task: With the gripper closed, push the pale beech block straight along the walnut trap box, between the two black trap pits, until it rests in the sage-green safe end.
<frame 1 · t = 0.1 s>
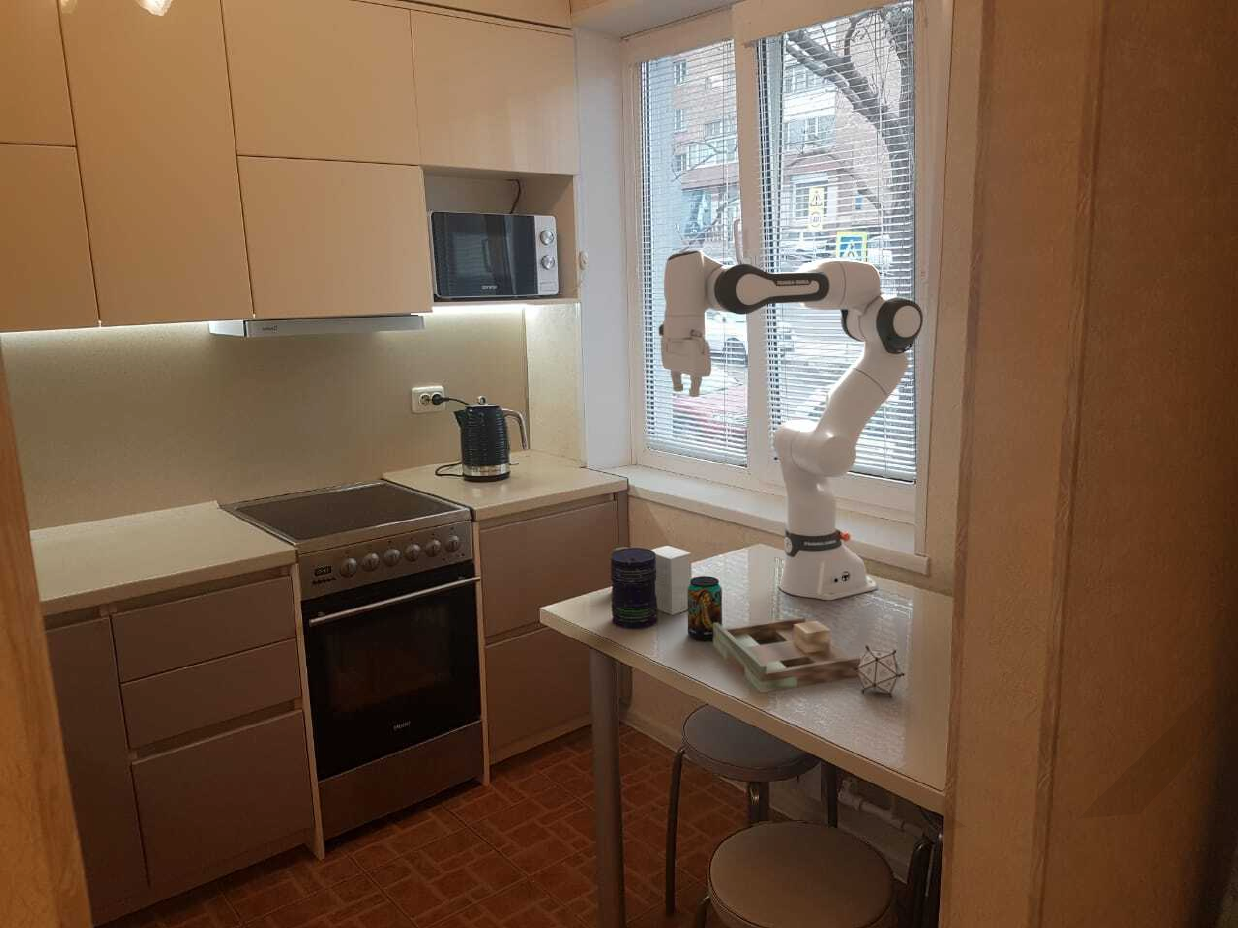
hand: (686, 393, 198), 48 cm above the table, fingers open, 8 cm apart
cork: (624, 594, 216), on the table
trap box: (783, 660, 177), on the table
small box: (670, 607, 206), on the table
storage jar: (634, 621, 199), on the table
beech block: (811, 646, 178), point 2 cm above the table, touching trap box
game die: (878, 693, 163), on the table
beverage can: (704, 636, 190), on the table
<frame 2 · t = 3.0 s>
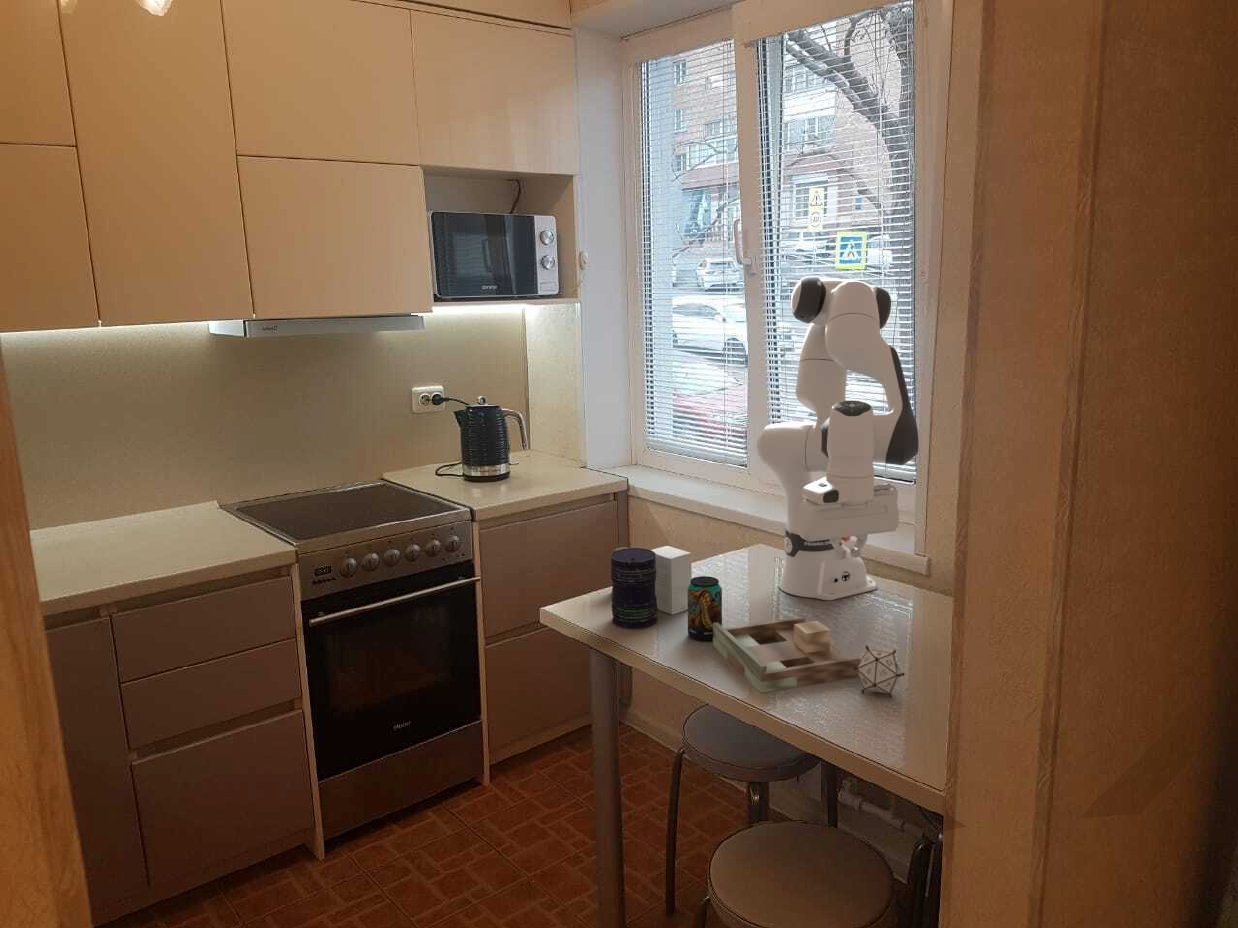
hand: (847, 557, 177), 19 cm above the table, fingers closed
nothing on the table moved.
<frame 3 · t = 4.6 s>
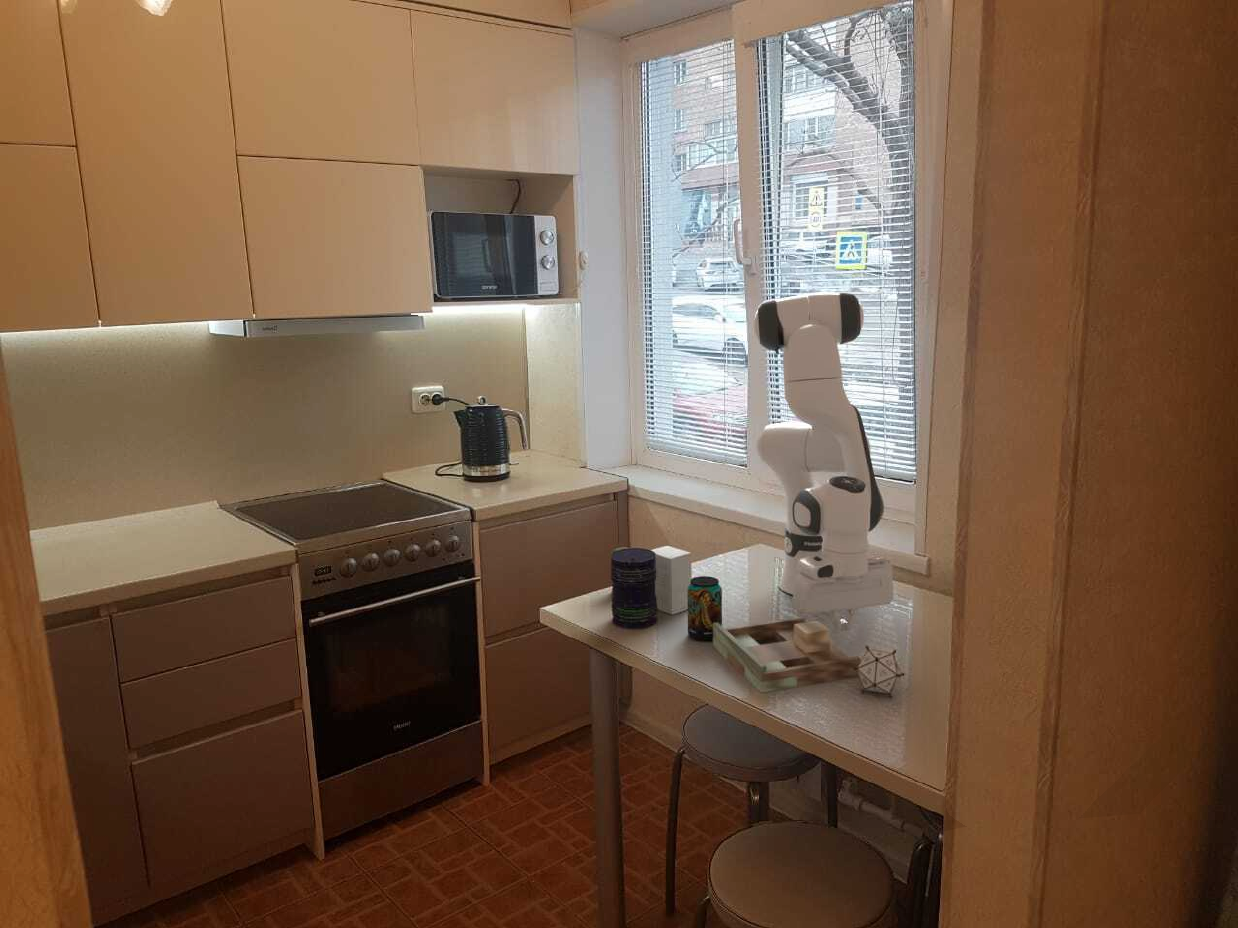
hand: (842, 629, 179), 5 cm above the table, fingers closed
nothing on the table moved.
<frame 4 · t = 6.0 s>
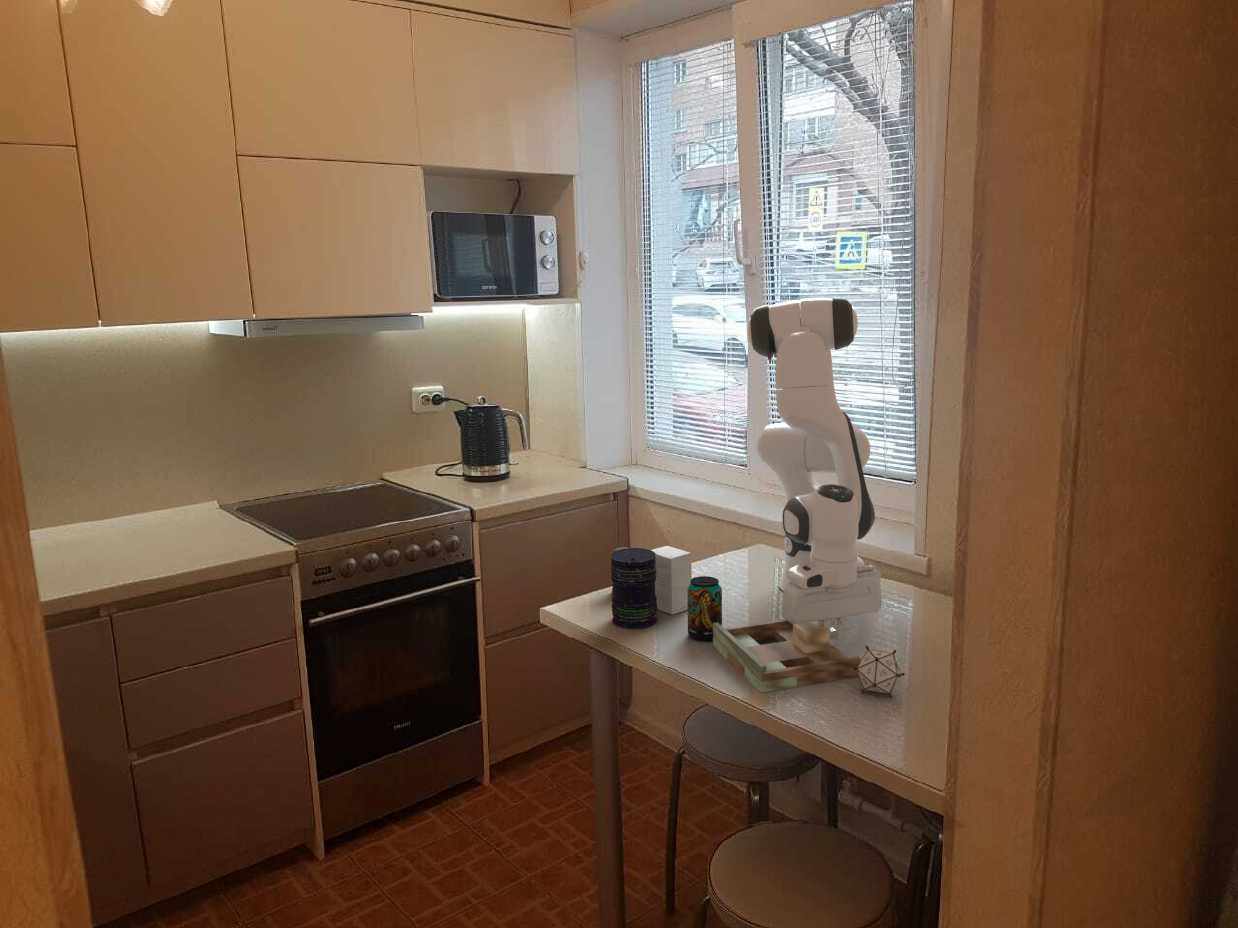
hand: (831, 637, 179), 3 cm above the table, fingers closed
beech block: (810, 646, 178), point 2 cm above the table, touching gripper, trap box
everything else where it was.
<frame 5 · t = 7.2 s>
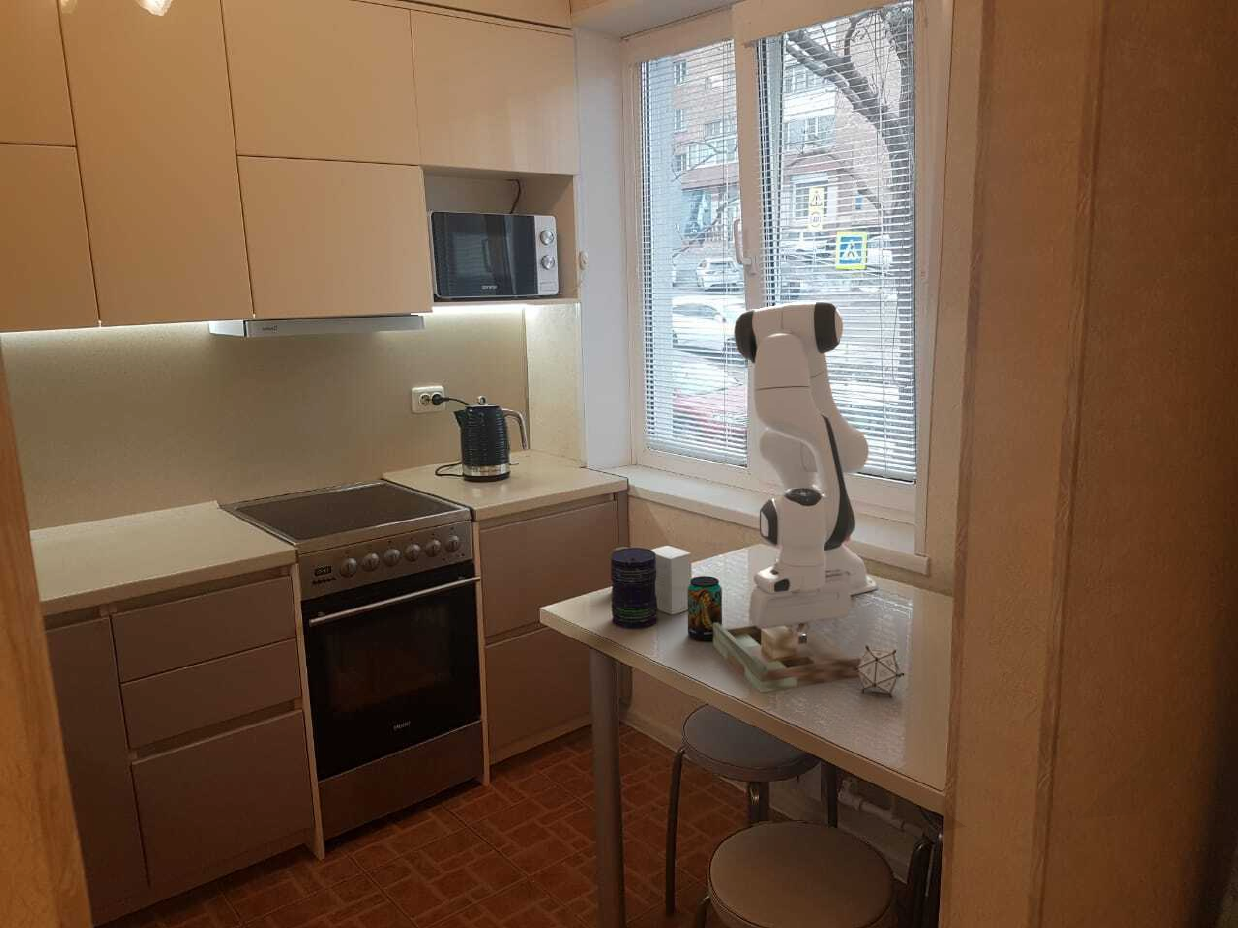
hand: (800, 642, 177), 3 cm above the table, fingers closed
beech block: (778, 651, 176), point 2 cm above the table, touching gripper
everything else where it was.
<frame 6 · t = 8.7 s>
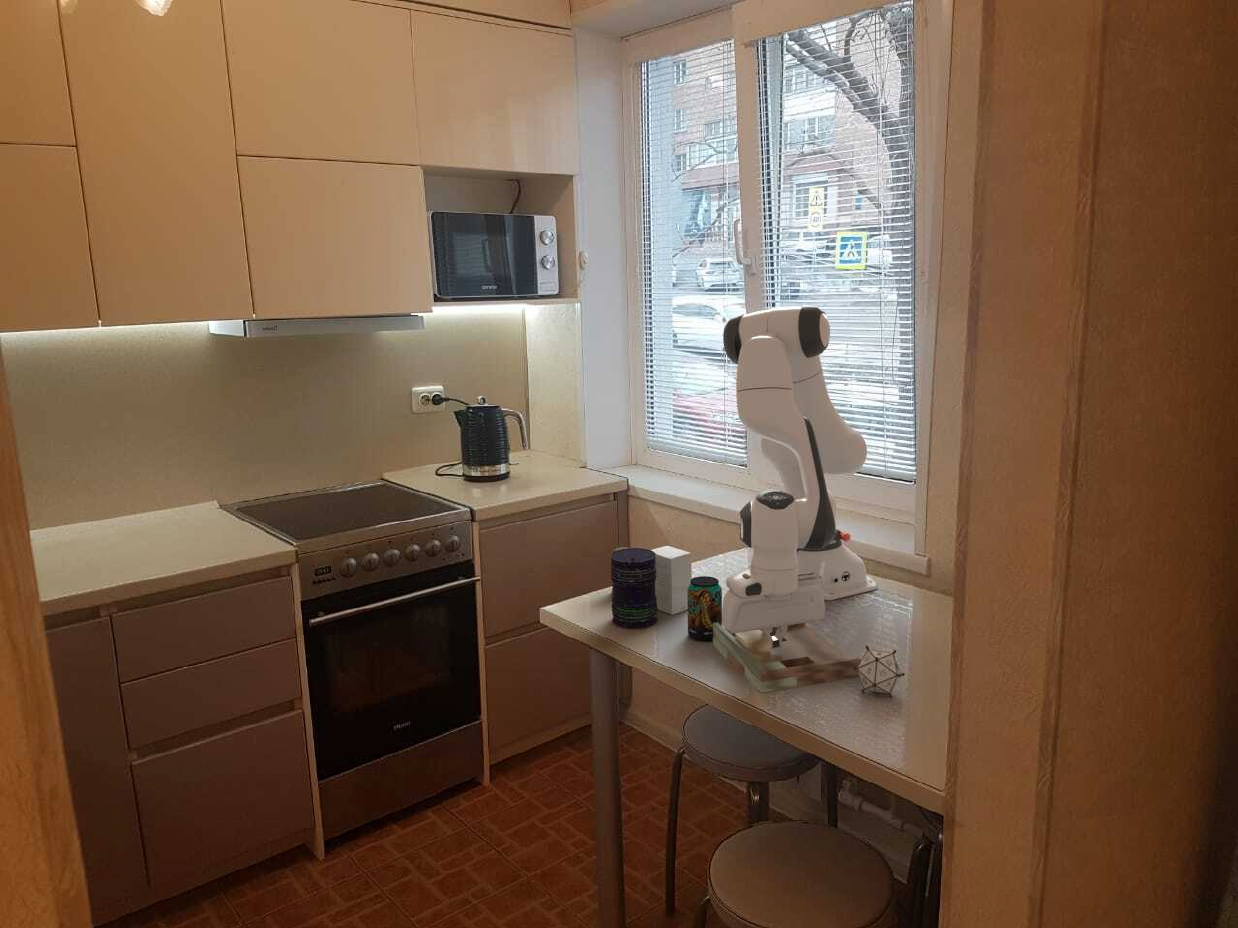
hand: (773, 647, 176), 3 cm above the table, fingers closed
beech block: (752, 655, 175), point 2 cm above the table, touching gripper, trap box
everything else where it was.
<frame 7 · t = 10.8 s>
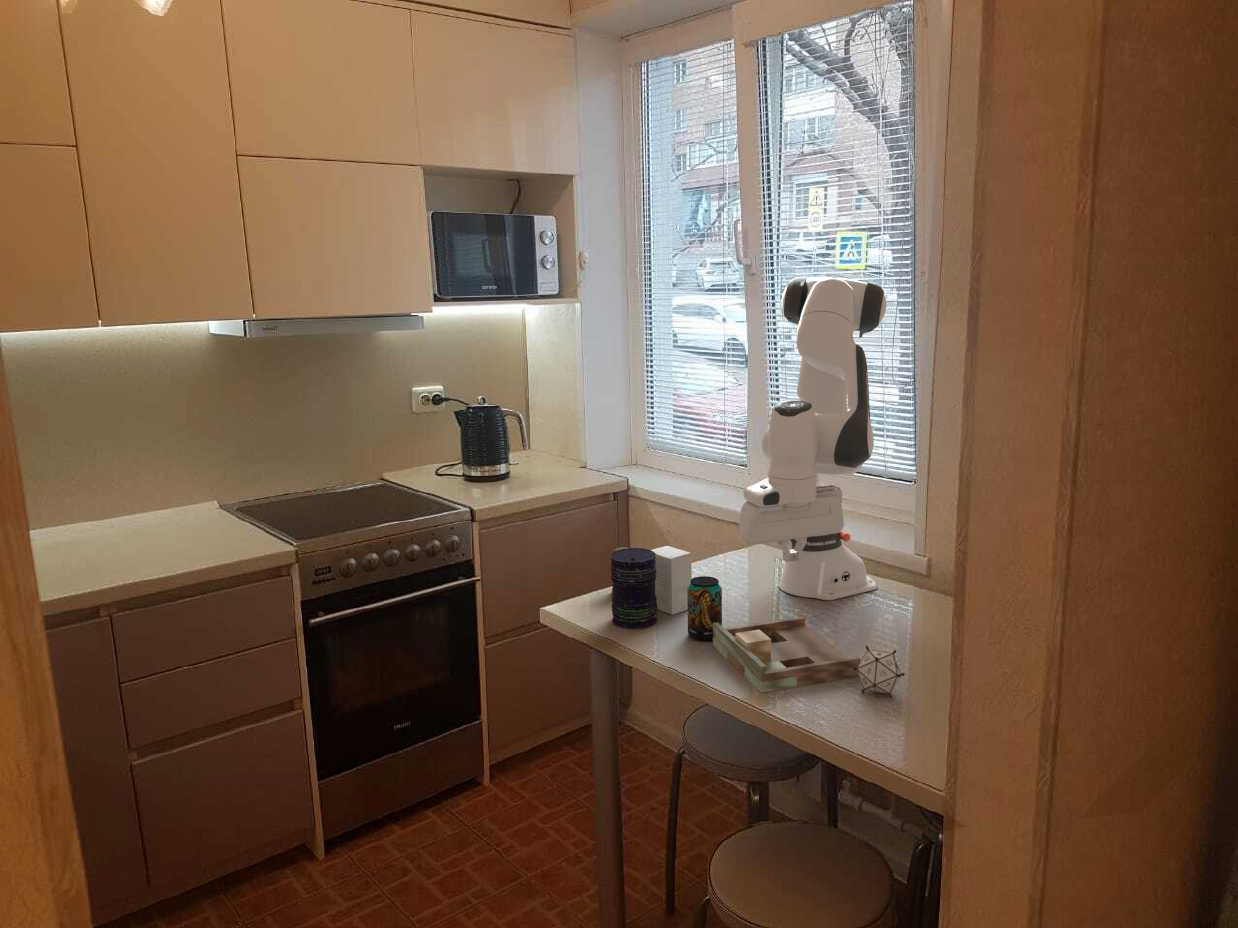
hand: (791, 560, 173), 20 cm above the table, fingers closed
beech block: (752, 655, 175), point 2 cm above the table, touching trap box
everything else where it was.
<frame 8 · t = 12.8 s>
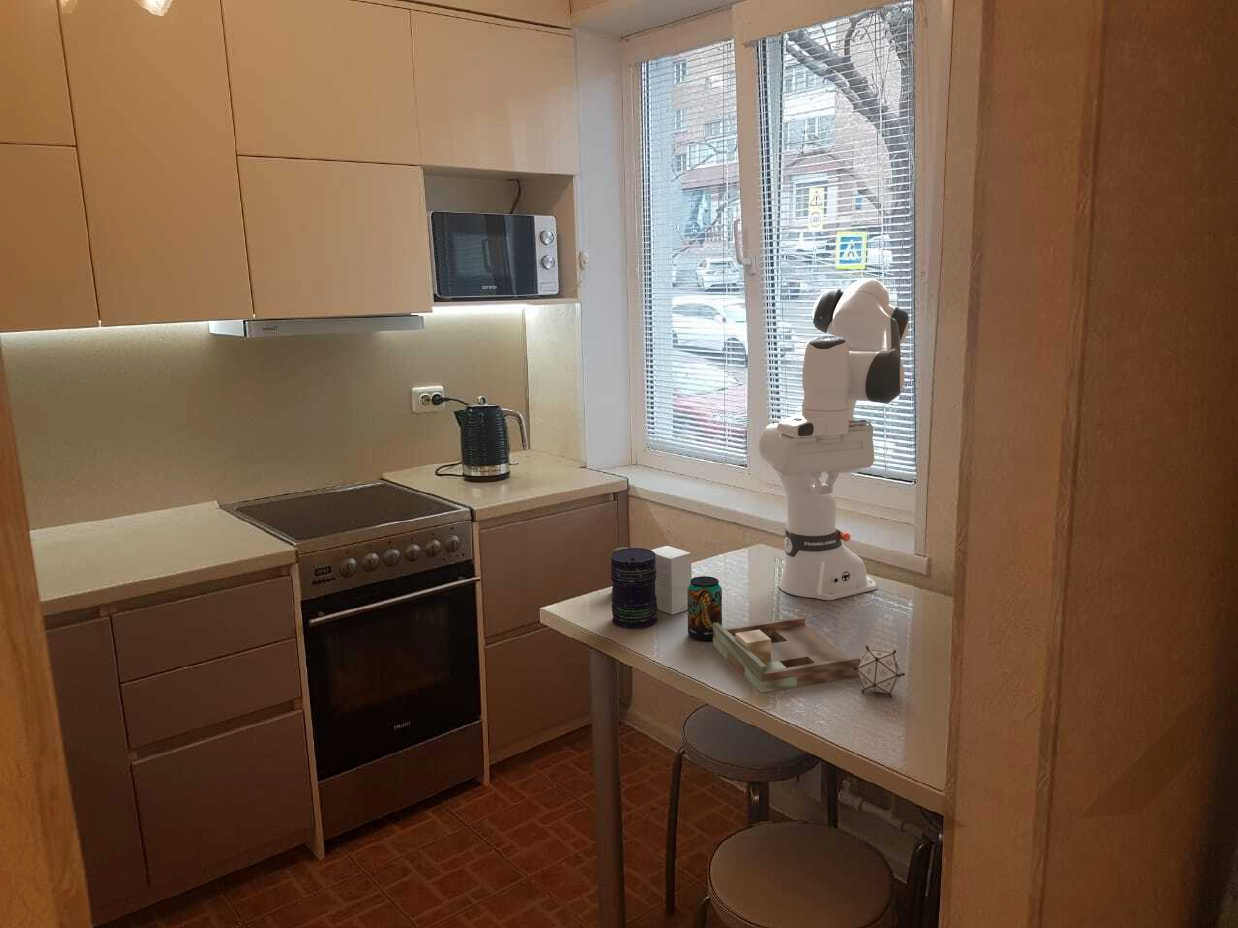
hand: (823, 493, 178), 31 cm above the table, fingers closed
nothing on the table moved.
at the end: beech block 0.4 cm from the target spot on the trap box, point 2.0 cm above the trap box's base; beech block tilted 0°; beech block moved 12.5 cm from its start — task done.
